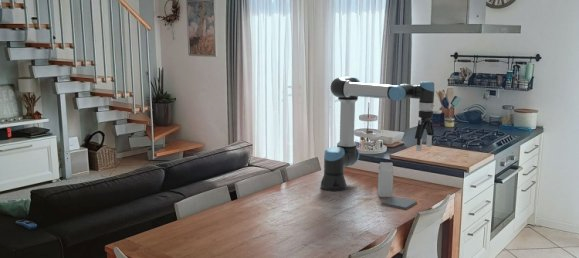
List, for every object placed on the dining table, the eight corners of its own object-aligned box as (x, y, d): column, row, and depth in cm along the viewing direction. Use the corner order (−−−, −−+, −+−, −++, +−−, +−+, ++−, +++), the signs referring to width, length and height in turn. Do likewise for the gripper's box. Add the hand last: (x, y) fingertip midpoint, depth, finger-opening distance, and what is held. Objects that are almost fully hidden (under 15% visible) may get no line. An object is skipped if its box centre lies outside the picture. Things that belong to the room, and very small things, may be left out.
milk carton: (392, 197, 291) (393, 164, 288) (379, 197, 291) (380, 164, 288) (390, 193, 298) (391, 161, 295) (377, 193, 298) (378, 161, 295)
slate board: (381, 204, 278) (381, 202, 278) (393, 198, 289) (393, 196, 289) (405, 209, 270) (405, 207, 270) (416, 203, 281) (416, 201, 281)
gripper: (423, 113, 270) (421, 153, 274) (441, 108, 290) (439, 146, 293) (409, 112, 274) (407, 151, 278) (428, 107, 294) (426, 144, 298)
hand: (423, 148), depth 286 cm, fingers open, 13 cm apart
